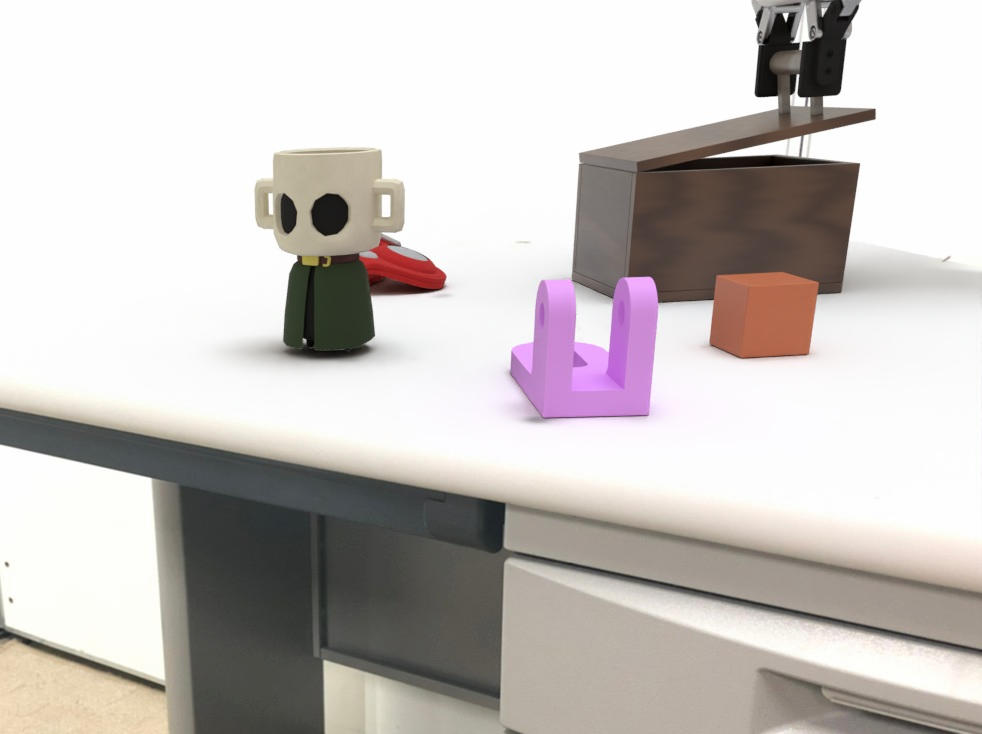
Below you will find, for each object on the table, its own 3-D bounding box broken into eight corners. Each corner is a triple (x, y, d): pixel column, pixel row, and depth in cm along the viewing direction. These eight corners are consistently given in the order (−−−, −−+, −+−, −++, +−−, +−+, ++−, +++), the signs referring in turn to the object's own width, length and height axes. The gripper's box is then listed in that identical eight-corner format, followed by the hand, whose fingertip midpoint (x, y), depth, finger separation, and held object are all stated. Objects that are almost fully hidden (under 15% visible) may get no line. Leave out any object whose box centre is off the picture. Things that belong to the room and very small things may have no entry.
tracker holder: (473, 273, 103) (381, 256, 98) (454, 321, 105) (363, 307, 100) (399, 228, 112) (311, 210, 107) (383, 273, 114) (296, 258, 109)
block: (774, 340, 80) (782, 271, 78) (809, 354, 75) (819, 282, 74) (708, 343, 79) (716, 275, 78) (740, 358, 75) (749, 285, 73)
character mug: (234, 354, 82) (226, 154, 77) (283, 334, 87) (279, 147, 83) (380, 366, 77) (382, 153, 72) (422, 345, 82) (426, 146, 77)
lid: (790, 115, 102) (788, 45, 100) (876, 119, 90) (875, 40, 88) (579, 162, 102) (573, 93, 100) (637, 172, 90) (631, 94, 88)
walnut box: (763, 269, 106) (777, 154, 103) (841, 292, 95) (860, 163, 91) (571, 279, 105) (578, 163, 102) (626, 304, 94) (636, 173, 90)
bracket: (648, 415, 64) (660, 282, 61) (543, 417, 64) (550, 286, 61) (592, 361, 76) (600, 249, 73) (503, 364, 76) (508, 252, 73)
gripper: (943, -192, 81) (905, 93, 87) (810, -144, 97) (787, 93, 103) (835, -186, 80) (806, 100, 87) (720, -139, 96) (702, 99, 103)
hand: (795, 94), depth 95 cm, fingers closed on lid, 6 cm apart
